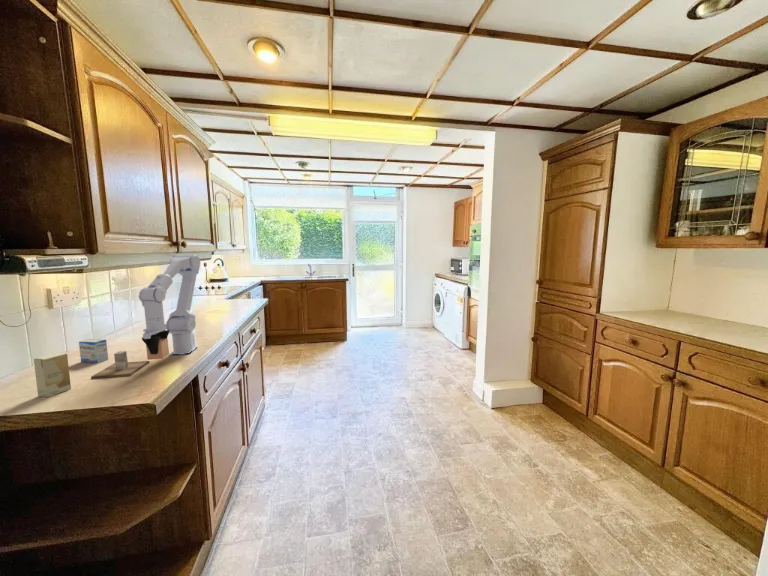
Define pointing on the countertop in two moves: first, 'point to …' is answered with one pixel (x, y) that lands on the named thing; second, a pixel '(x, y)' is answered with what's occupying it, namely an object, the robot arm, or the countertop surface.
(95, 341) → the medicine box
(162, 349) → the square cap
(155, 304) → the robot arm
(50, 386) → the skincare box
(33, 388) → the countertop surface
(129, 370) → the post board
